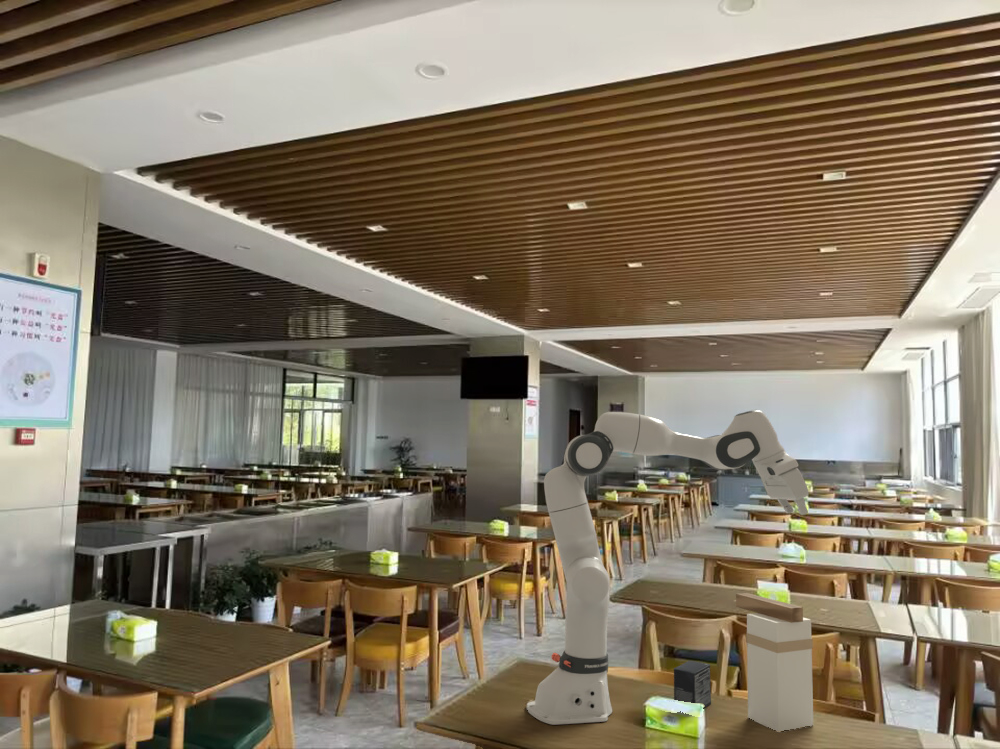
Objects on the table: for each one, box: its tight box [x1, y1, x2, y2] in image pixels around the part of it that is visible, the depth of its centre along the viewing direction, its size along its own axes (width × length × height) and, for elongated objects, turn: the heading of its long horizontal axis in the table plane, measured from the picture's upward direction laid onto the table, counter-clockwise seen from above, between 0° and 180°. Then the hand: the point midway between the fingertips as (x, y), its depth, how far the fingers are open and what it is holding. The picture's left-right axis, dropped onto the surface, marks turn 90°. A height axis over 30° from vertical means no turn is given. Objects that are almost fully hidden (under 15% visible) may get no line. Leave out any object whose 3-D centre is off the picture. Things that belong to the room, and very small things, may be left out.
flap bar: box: [735, 592, 804, 623], centre depth 182 cm, size 4×19×4 cm, turn 25°
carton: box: [745, 612, 814, 733], centre depth 177 cm, size 12×10×26 cm
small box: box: [673, 660, 712, 708], centre depth 186 cm, size 11×6×10 cm, turn 141°
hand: (797, 513), depth 184 cm, fingers open, 8 cm apart
